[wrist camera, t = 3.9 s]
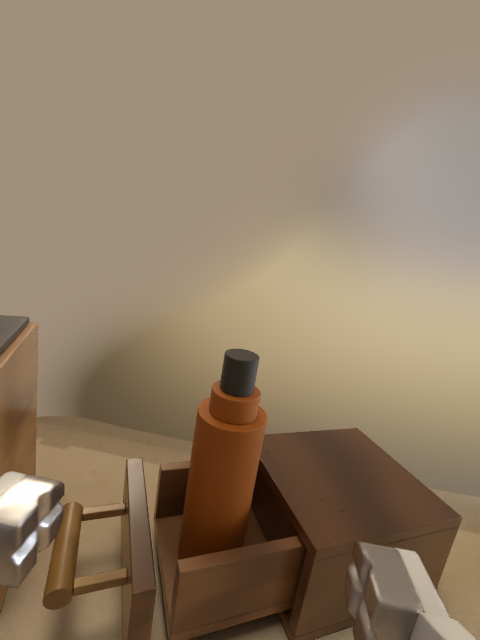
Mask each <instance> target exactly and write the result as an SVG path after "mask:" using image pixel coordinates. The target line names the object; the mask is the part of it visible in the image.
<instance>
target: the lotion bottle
mask: <svg viewBox="0 0 480 640" xmlns="http://www.w3.org/2000/svg"><path fill="white" fill-rule="evenodd" d="M258 363H259V356H258V355H257V354H255V353H253V352H251V351H248V350H243V349H229V350H227V351H226V352H225V356H224V363H223V369H222V375H221V380H220V381H217V382H215V383H214V384H213V385H212V390H211V396H210V398H207V399H205V400H203V401H202V402H201V403H200V404H199V406H198V411H197V418H196V425H195V433H194V440H193V447H192V454H191V461H190V468H189V475H188V482H187V490H186V497H185V504H184V511H183V518H182V525H181V533H180V540H179V547H178V559H179V560H181V559H186V558H190V557H195V556H200V555H205V554H210V553H215V552H220V551H225V550H230V549H235V548H240V547H243V542H244V537H245V532H246V527H247V522H248V517H249V511H250V506H251V501H252V496H253V491H254V486H255V480H256V475H257V470H258V465H259V460H260V455H261V449H262V444H263V439H264V434H265V429H266V423H267V415H266V413H265V411H264V410H263V409H262V408H261V407H260V406H259V402H260V396H261V393H260V391H259V390H258V388H256V387H255V380H256V374H257V369H258Z"/></svg>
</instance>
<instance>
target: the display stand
mask: <svg viewBox="0 0 480 640" xmlns="http://www.w3.org/2000/svg"><path fill="white" fill-rule="evenodd" d="M37 360H38V323H37V322H29V317H19V316H3V315H0V477H1V476H2V475H3V474H5V473H7V472H10V471H14V472H18V473H23V474H27V475H28V474H29V475H34V476H35V469H36V415H37ZM7 588H8V587H7V586H2V585H0V611H1V607H2V604H3V601H4V598H5V594H6V591H7Z"/></svg>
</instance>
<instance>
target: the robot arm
mask: <svg viewBox="0 0 480 640" xmlns="http://www.w3.org/2000/svg"><path fill="white" fill-rule="evenodd" d="M63 495H64V484H63V483H62V482H60V481H55V480H51V479H47V478H42V477H38V476H34V475H29V474H28V475H27V474H23V473H18V472H14V471H10V472H7V473H5V474H3V475H2V476H1V477H0V585H2V586H7V587H13V588H18V587H19V585H20V584H21V583H22V581H23V580H24V579H25V577H26V576H27V575H28V573H29V572H30V571H31V569H32V568H33V567H34V565H35V564H36V559H37V553H38V552H40V551H42V550H44V549H45V548H47V547H48V546H49V545H50V544H51V542H52V541H53V539H54V538H55V536H56V534H57V532H58V530H59V528H60V526H61V523H62V519H63V512H64V508H63V506H62V504H61V503H60V501H59V500H60V499H61V498H62V496H63ZM352 555H353V559H354V562H353V563H351V564H350V565H348V568H347V572H346V576H345V595H346V602H347V607H348V611H349V612H350V613H351V615H352V616H353V617H354V619H355V624H354V627H353V634H354V639H355V640H476V639H475V638H474V637H473V636H472V635H471V634H470V633H469V632H468V631H467V630H466V629H465V628H464V627H463V626H462V625H461V624H460V623H459V622H458V621H457V620H455V619H451V618H449V616H448V614H447V612H446V610H445V608H444V606H443V604H442V602H441V600H440V598H439V596H438V594H437V592H436V590H435V588H434V585H433V583H432V581H431V579H430V577H429V575H428V573H427V571H426V569H425V567H424V565H423V563H422V561H421V559H420V557H419V555H418V554H417V553H416V552H415V551H410V550H404V549H399V548H392V547H387V546H382V545H377V544H371V543H366V542H361V541H356V543H355V544H354V546H353V550H352Z"/></svg>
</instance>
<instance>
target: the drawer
mask: <svg viewBox="0 0 480 640" xmlns="http://www.w3.org/2000/svg"><path fill="white" fill-rule="evenodd" d="M189 468H190V461H189V462H178V463H168V464H160V469H159V478H158V486H157V495H156V504H155V513H154V526H155V534H156V542H157V550H158V558H159V566H160V574H161V583H162V591H163V599H164V607H165V615H166V623H167V631H168V639H169V640H187V639H191V638H194V637H197V636H201V635H204V634H208V633H211V632H214V631H218V630H221V629H224V628H228V627H231V626H235V625H238V624H241V623H245V622H248V621H252V620H255V619H258V618H262V617H265V616H268V615H272V614H275V613H279V612H282V611H285V610H289V609H292V608H293V605H294V601H295V597H296V593H297V589H298V585H299V581H300V577H301V573H302V569H303V565H304V561H305V557H306V553H307V548H306V547H305V545H304V543H303V542H302V540H301V538H300V536H299V535H298V533H297V531H296V530H295V528H294V526H293V524H292V523H291V521H290V519H289V518H288V516H287V514H286V512H285V511H284V509H283V507H282V506H281V504H280V502H279V500H278V499H277V497H276V495H275V494H274V492H273V490H272V488H271V487H270V485H269V483H268V482H267V480H266V478H265V477H264V475H263V473H262V471H261V470H260V468H259V466H258V470H257V475H256V480H255V486H254V491H253V496H252V501H251V506H250V511H249V517H248V522H247V527H246V532H245V537H244V542H243V547H240V548H235V549H230V550H225V551H220V552H215V553H210V554H205V555H200V556H195V557H190V558H186V559H181V560H179V559H178V547H179V540H180V533H181V525H182V518H183V511H184V504H185V497H186V490H187V482H188V475H189ZM63 508H64V512H63V519H62V523H61V526H60V528H59V530H58V532H57V534H56V536H55V541H54V546H53V551H52V556H51V561H50V566H49V571H48V577H47V582H46V587H45V592H44V597H43V606H44V607H45V608H47V609H50V610H55V609H60V608H62V607H64V606H66V605H67V604H68V603H69V602H70V601H71V599H72V595H73V596H75V595H80V594H85V593H89V592H94V591H98V590H103V589H108V588H112V587H117V586H121V585H122V628H123V640H150V635H151V627H152V619H153V611H154V603H155V595H156V581H155V571H154V562H153V553H152V543H151V534H150V525H149V515H148V506H147V497H146V487H145V478H144V469H143V460H142V458H134V459H127V460H126V471H125V482H124V493H123V503H117V504H110V505H102V506H94V507H87V508H83V507H82V505H81V504H79V503H77V502H71V503H68V504H66V505H64V506H63ZM121 515H122V516H121ZM114 516H121V551H122V569H117V570H112V571H107V572H102V573H98V574H93V575H88V576H83V577H78V578H75V570H76V562H77V553H78V545H79V537H80V529H81V520H82V521H87V520H94V519H101V518H108V517H114ZM74 578H75V579H74Z"/></svg>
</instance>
